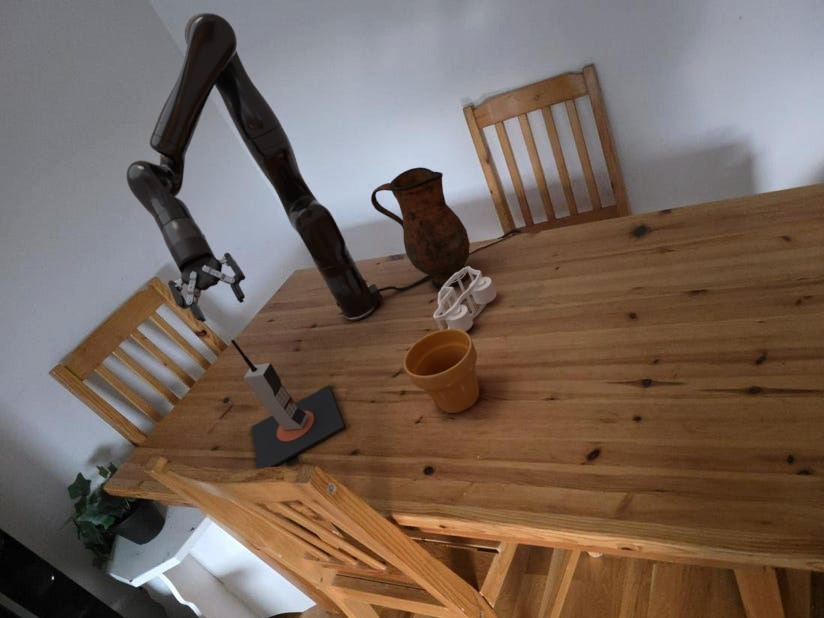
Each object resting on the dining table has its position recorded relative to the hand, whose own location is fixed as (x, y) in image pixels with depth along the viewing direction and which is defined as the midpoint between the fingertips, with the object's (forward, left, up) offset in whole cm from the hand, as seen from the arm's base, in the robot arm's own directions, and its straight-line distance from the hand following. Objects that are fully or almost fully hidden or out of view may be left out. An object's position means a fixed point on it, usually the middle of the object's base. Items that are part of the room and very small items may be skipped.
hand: (222, 310), depth 123 cm
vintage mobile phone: (0, +9, -28) cm, 29 cm away
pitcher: (-49, -20, -29) cm, 60 cm away
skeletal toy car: (-47, +1, -29) cm, 55 cm away
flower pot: (-34, +27, -29) cm, 52 cm away
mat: (0, +9, -29) cm, 30 cm away
